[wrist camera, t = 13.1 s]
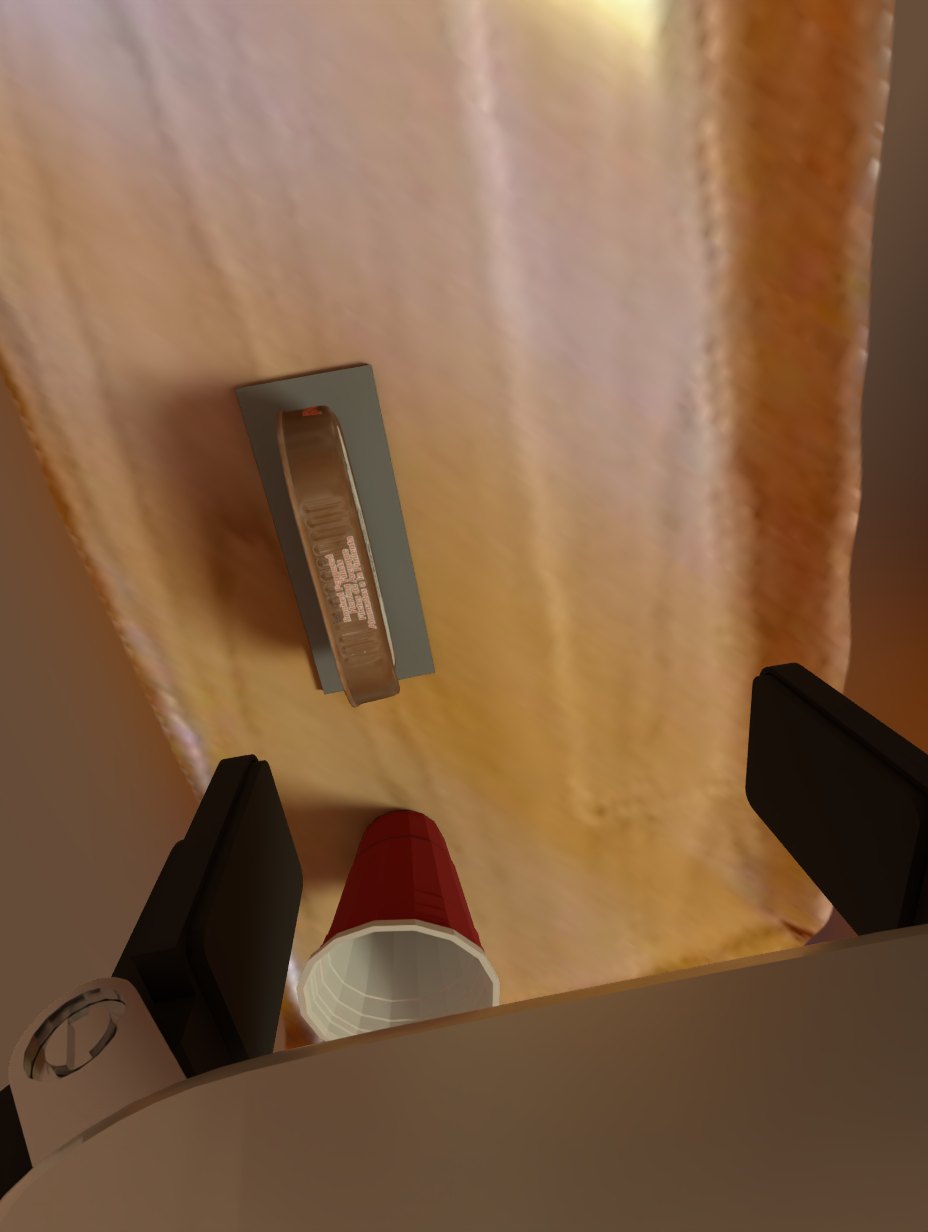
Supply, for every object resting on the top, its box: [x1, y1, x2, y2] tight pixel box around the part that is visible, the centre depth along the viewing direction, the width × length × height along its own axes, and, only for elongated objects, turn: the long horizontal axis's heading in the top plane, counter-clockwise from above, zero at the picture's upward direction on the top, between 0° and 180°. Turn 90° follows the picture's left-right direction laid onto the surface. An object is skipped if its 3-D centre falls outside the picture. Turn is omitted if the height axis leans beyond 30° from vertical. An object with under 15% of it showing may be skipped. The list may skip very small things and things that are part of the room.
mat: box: [235, 365, 435, 694], centre depth 34 cm, size 18×7×1 cm, turn 9°
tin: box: [276, 406, 400, 707], centre depth 29 cm, size 15×3×8 cm, turn 9°
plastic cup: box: [297, 810, 500, 1042], centre depth 36 cm, size 11×11×12 cm
